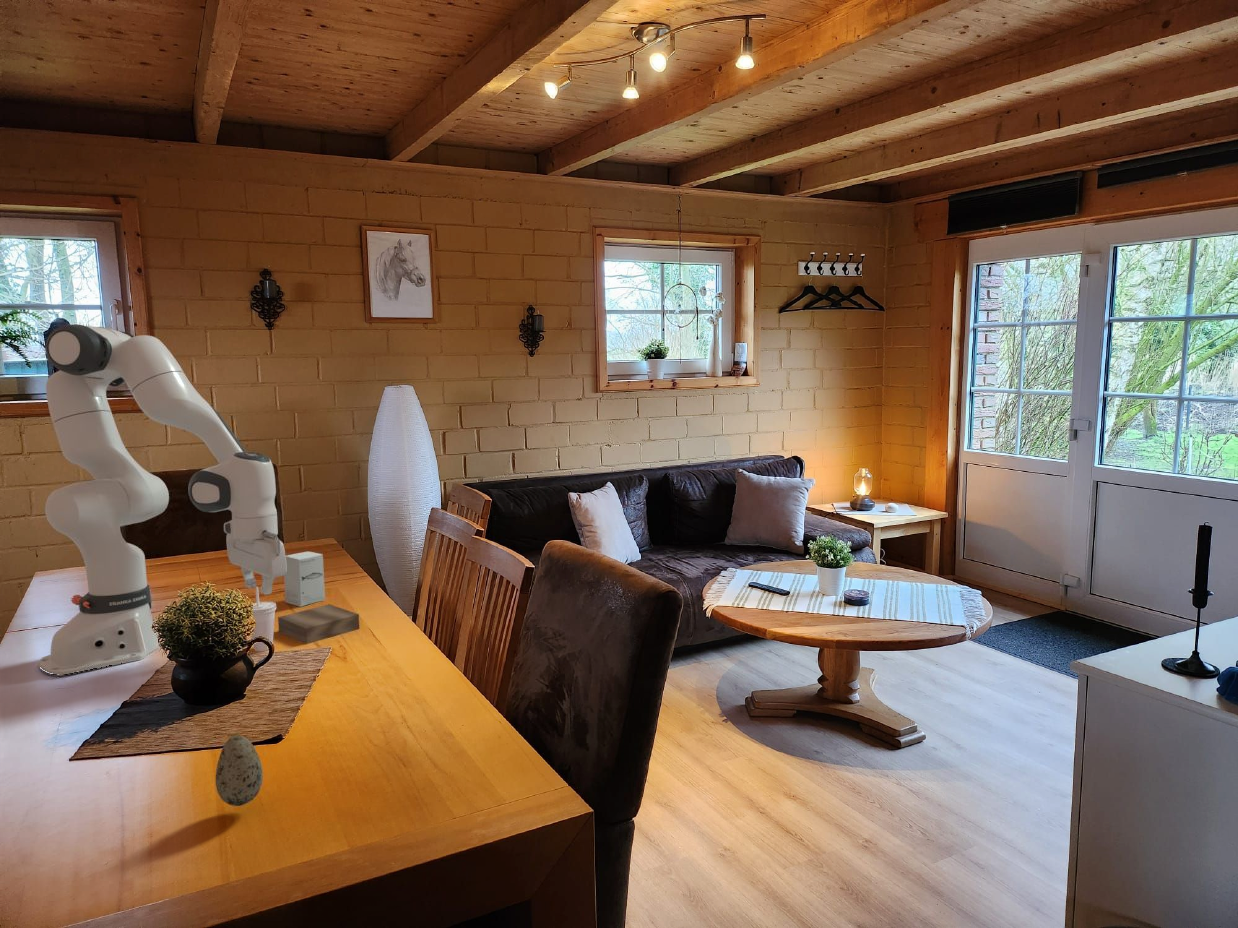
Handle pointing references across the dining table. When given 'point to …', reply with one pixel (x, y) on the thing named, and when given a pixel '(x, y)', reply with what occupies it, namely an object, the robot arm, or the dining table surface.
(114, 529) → the robot arm
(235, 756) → the decorative egg
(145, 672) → the dining table surface
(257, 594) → the smoothie
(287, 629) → the walnut block
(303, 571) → the supplement box
